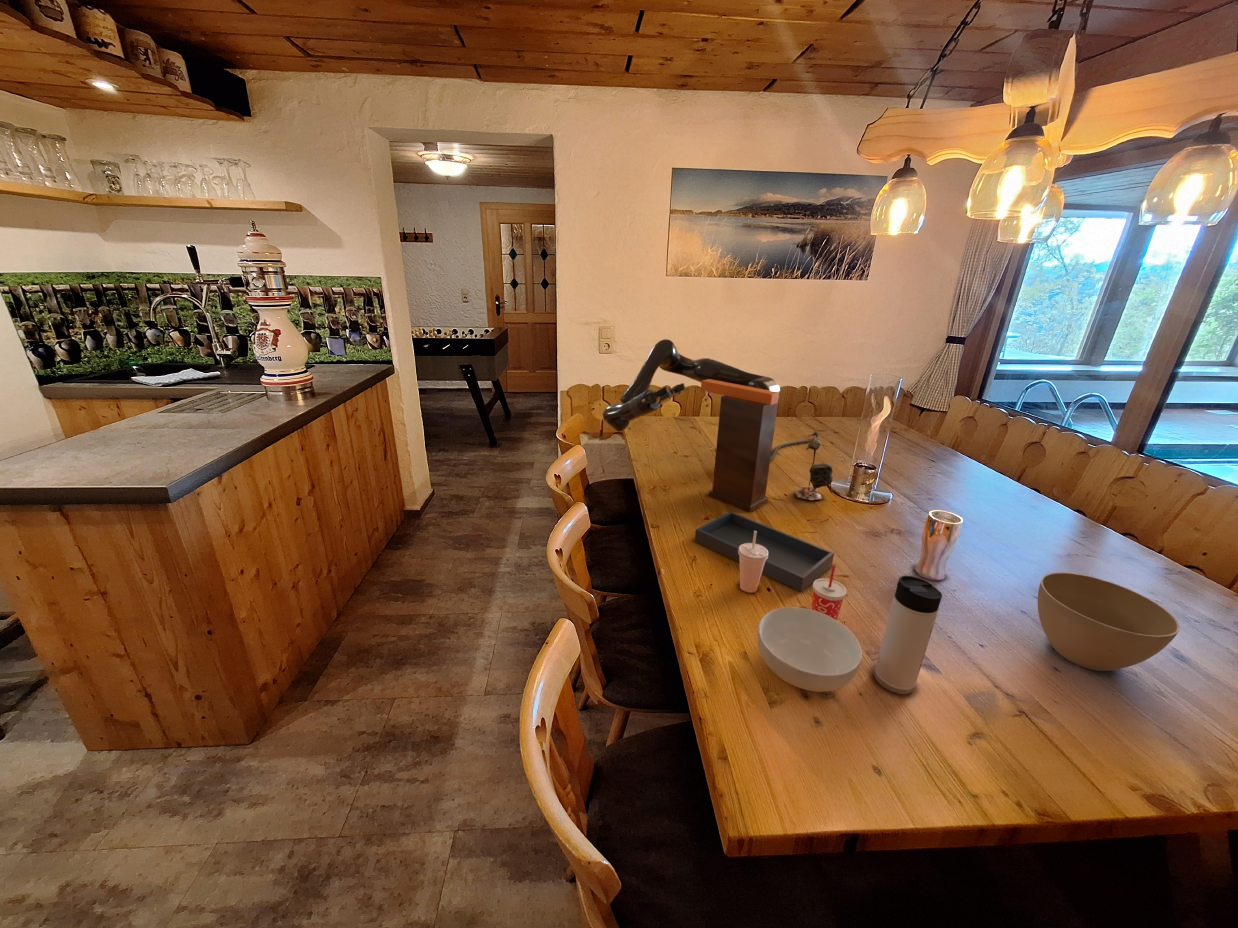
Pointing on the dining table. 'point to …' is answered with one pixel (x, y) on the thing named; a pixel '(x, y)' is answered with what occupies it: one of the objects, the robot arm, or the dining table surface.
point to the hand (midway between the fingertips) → (675, 387)
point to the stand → (743, 452)
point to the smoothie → (751, 564)
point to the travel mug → (907, 634)
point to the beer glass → (938, 543)
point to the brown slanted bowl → (1101, 622)
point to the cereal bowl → (808, 648)
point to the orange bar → (740, 391)
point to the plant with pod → (816, 476)
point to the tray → (786, 553)
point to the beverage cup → (828, 596)
